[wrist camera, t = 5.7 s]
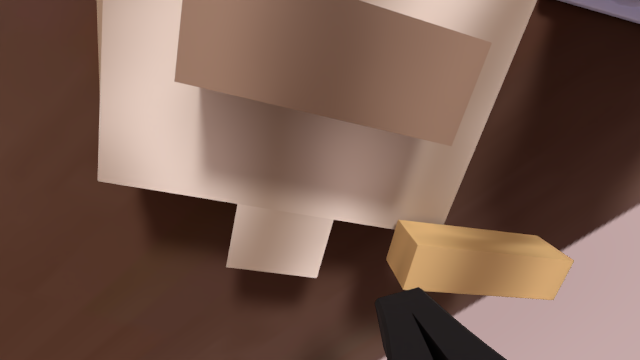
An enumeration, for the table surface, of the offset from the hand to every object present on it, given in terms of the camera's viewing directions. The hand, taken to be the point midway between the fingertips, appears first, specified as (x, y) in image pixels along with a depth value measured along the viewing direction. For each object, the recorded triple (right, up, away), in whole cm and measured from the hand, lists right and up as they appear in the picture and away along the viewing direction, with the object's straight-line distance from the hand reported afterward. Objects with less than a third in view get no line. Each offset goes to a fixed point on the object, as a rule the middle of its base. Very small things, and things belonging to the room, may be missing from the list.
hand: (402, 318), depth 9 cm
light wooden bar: (+4, +1, +5) cm, 7 cm away
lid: (-3, +7, +3) cm, 8 cm away
